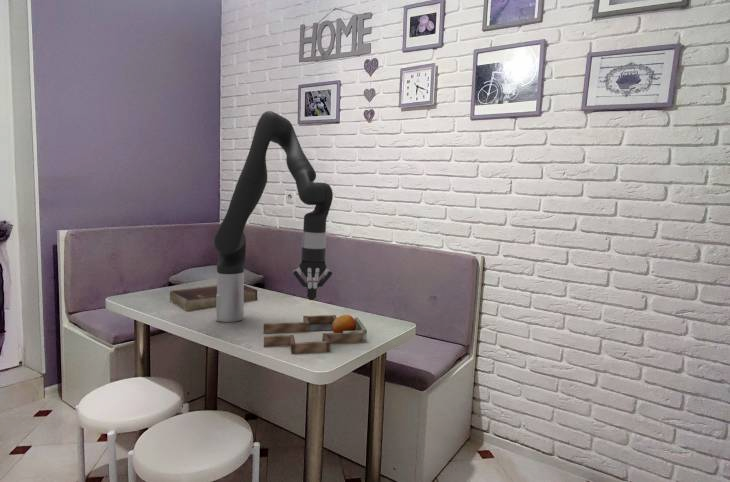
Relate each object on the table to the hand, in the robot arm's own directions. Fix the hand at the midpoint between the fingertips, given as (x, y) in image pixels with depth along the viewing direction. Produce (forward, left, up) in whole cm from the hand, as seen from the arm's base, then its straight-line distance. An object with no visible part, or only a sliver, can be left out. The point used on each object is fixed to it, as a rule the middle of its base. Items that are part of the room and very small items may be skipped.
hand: (311, 299), depth 144 cm
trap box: (+1, 0, -13) cm, 13 cm away
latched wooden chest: (-34, +49, -14) cm, 62 cm away
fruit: (+11, +1, -13) cm, 17 cm away
